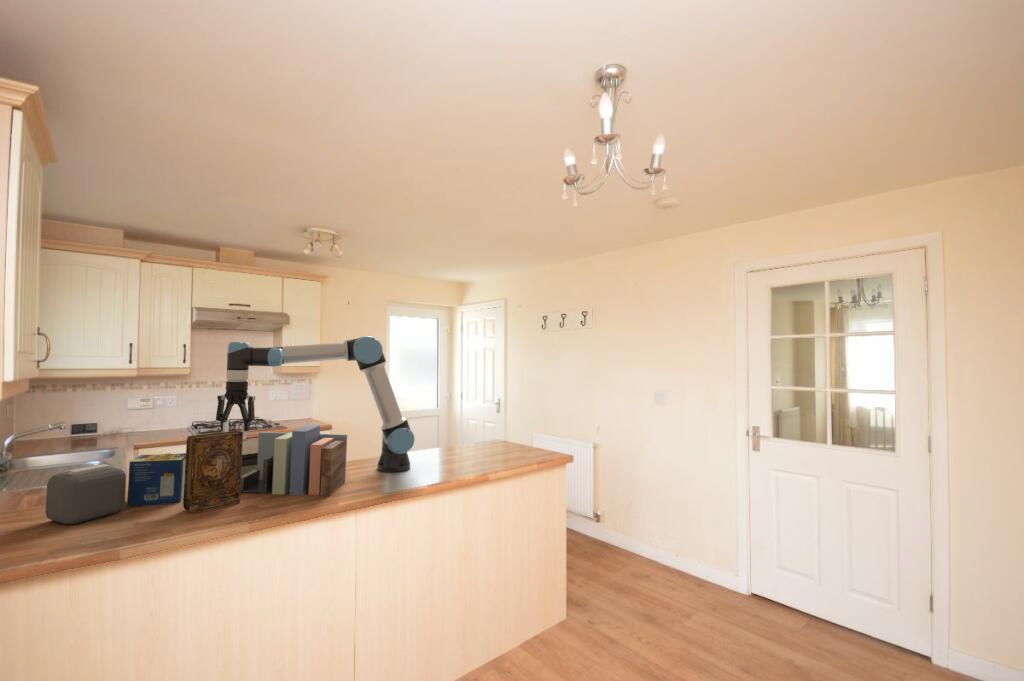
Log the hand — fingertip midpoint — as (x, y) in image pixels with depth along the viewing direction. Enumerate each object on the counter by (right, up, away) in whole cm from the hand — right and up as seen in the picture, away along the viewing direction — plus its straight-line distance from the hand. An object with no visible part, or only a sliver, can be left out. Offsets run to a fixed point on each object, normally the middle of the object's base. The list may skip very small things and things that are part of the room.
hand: (234, 438), depth 184 cm
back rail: (+22, -20, +10) cm, 31 cm away
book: (+6, -19, -23) cm, 30 cm away
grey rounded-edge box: (-25, -18, -36) cm, 47 cm away
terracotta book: (+34, -20, +1) cm, 39 cm away
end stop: (+39, -20, +1) cm, 44 cm away
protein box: (-16, -18, -19) cm, 31 cm away
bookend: (+11, -19, 0) cm, 22 cm away
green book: (+21, -20, 0) cm, 29 cm away
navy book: (+27, -20, +1) cm, 34 cm away
